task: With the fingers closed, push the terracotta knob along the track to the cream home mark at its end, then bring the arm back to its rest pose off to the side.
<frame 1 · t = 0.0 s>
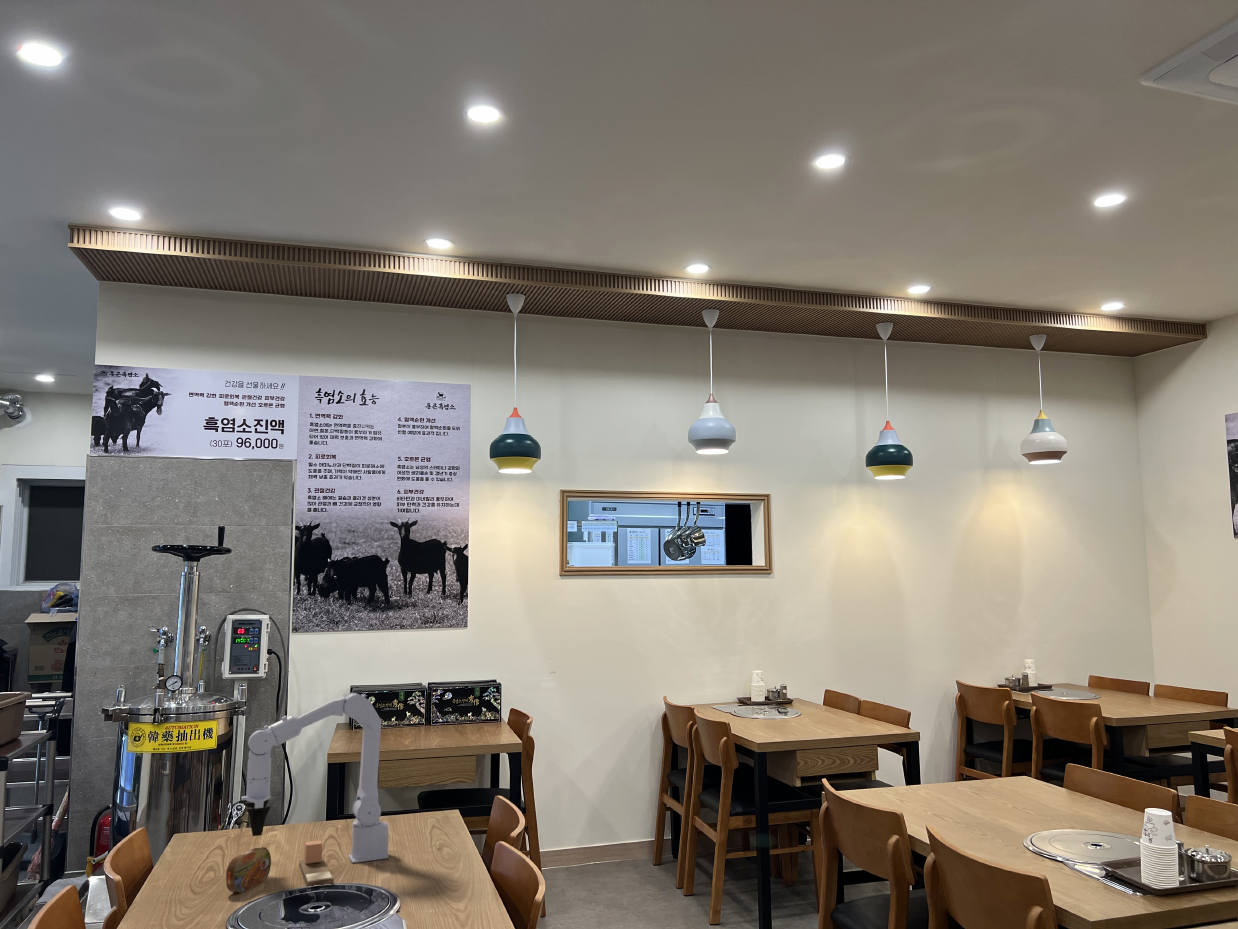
hand: (256, 832, 224), 10 cm above the table, tool pointing down, fingers open, 7 cm apart
slider: (313, 851, 226), point 4 cm above the table, slide at -7.0 cm
tin: (247, 888, 210), on the table
track: (315, 875, 219), on the table
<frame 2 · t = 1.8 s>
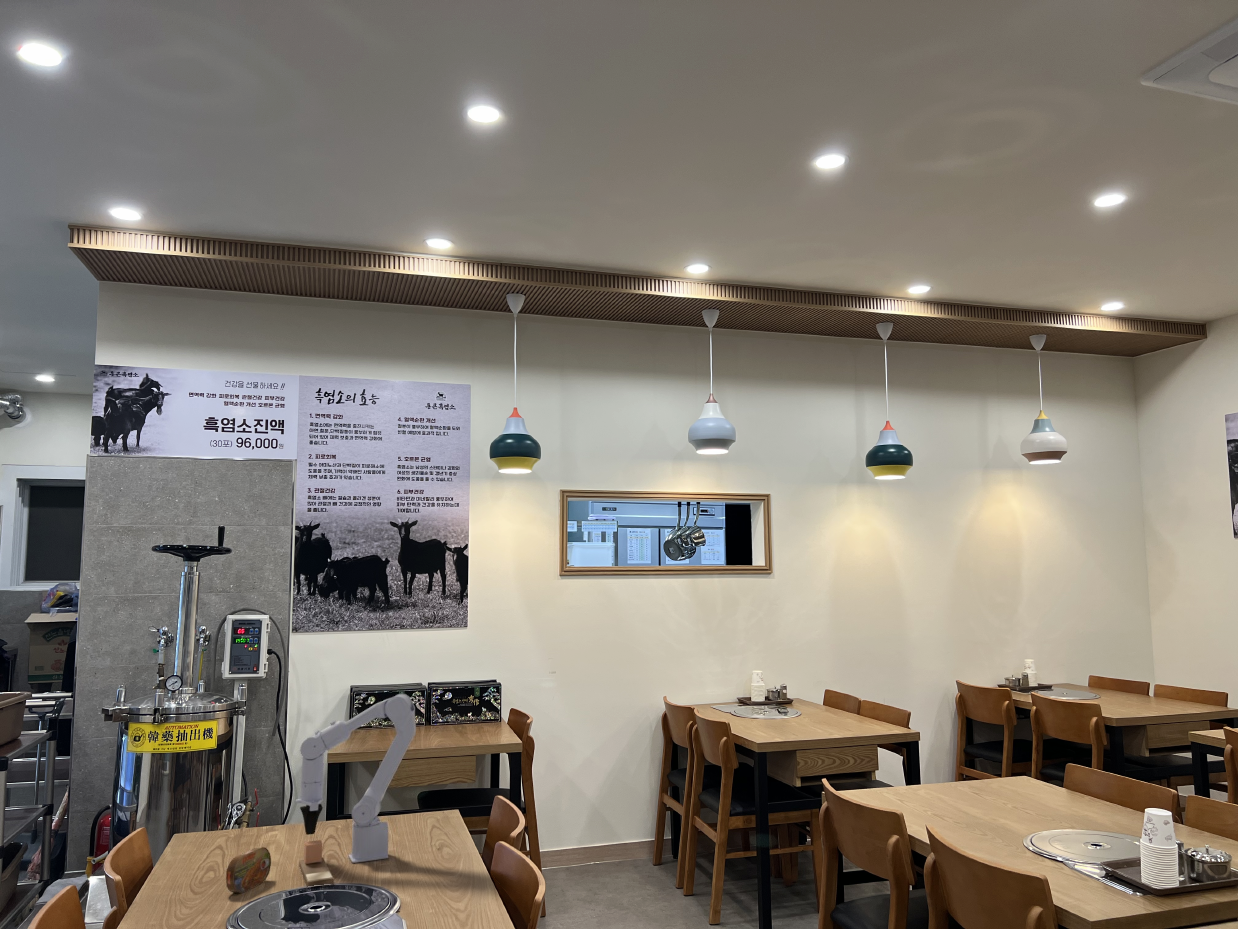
hand: (310, 834, 234), 7 cm above the table, tool pointing down, fingers closed
nothing on the table moved.
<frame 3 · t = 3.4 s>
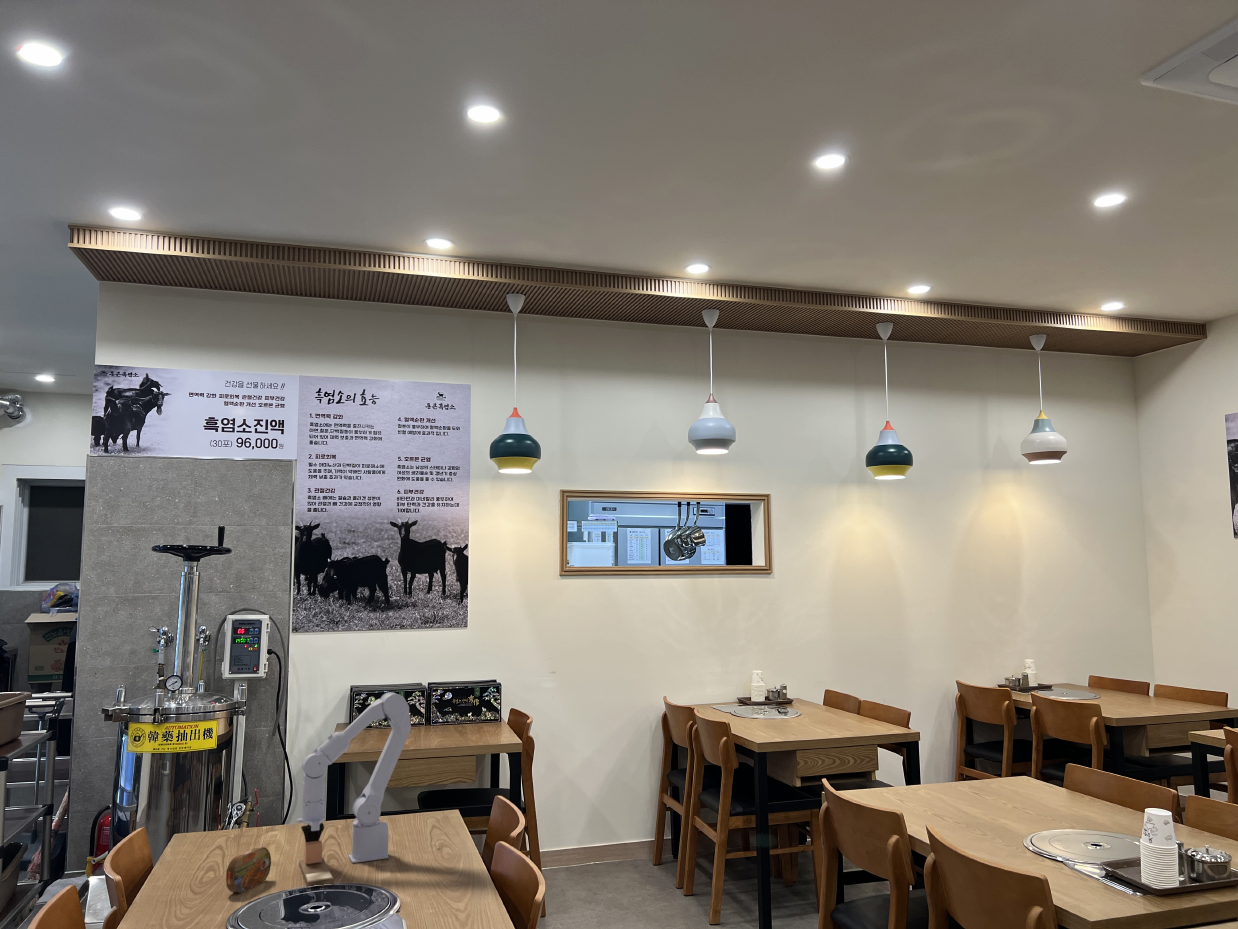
hand: (311, 854, 229), 3 cm above the table, tool pointing down, fingers closed
slider: (313, 852, 226), point 4 cm above the table, slide at -6.6 cm, touching gripper
everything else where it was.
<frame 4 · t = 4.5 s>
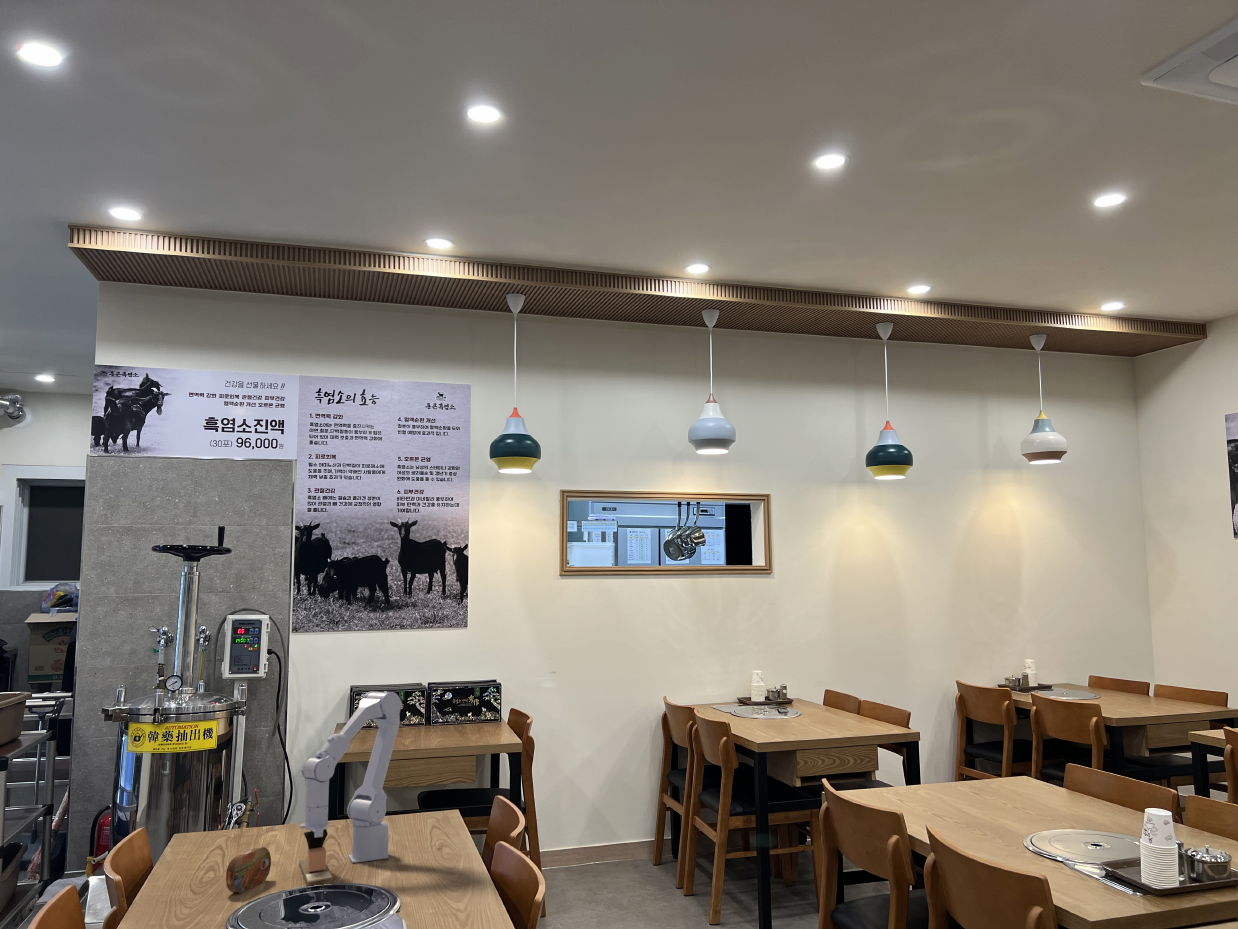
hand: (314, 861, 222), 3 cm above the table, tool pointing down, fingers closed
slider: (316, 859, 219), point 4 cm above the table, slide at 1.4 cm, touching gripper
everything else where it was.
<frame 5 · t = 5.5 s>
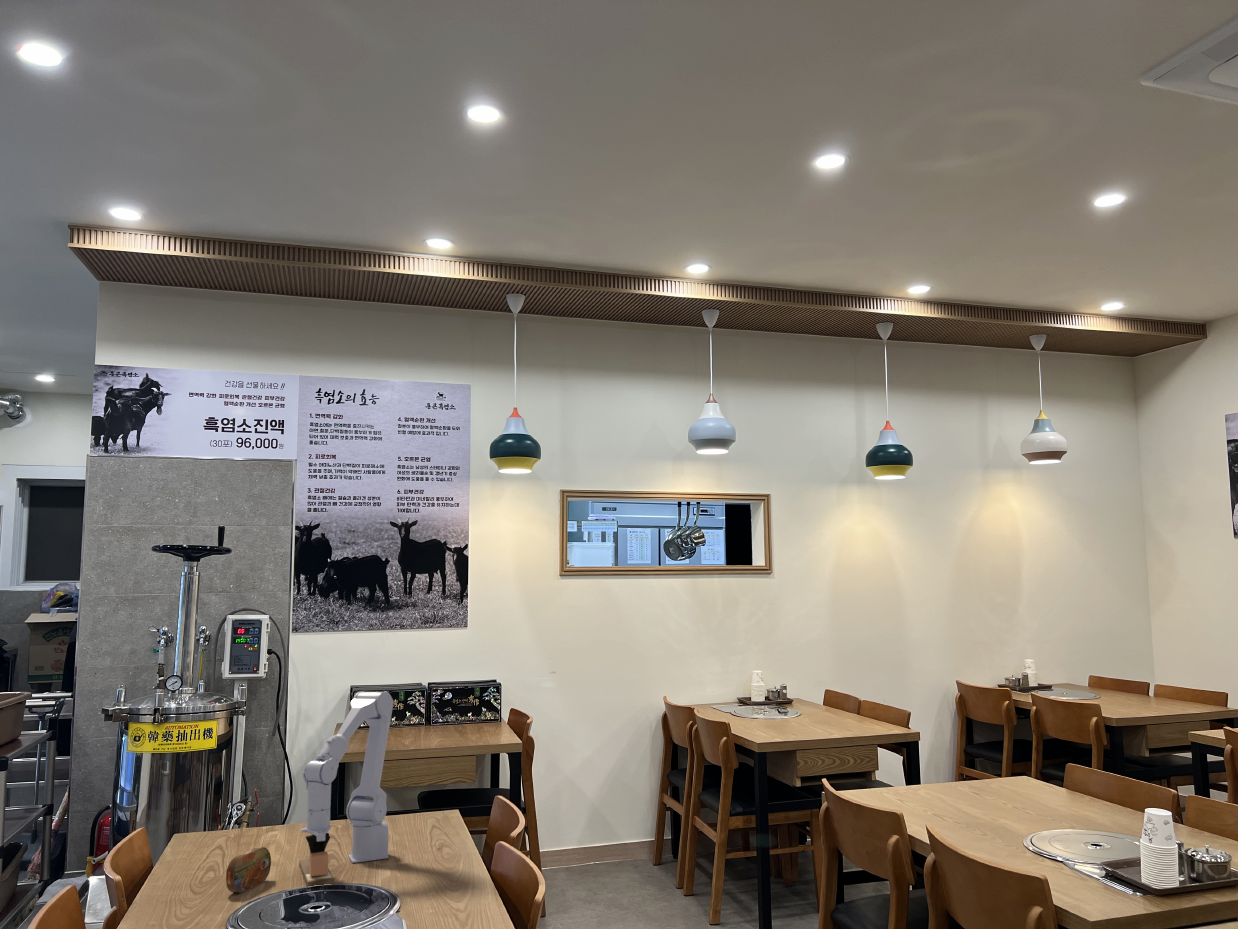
hand: (316, 865, 217), 3 cm above the table, tool pointing down, fingers closed
slider: (318, 863, 214), point 4 cm above the table, slide at 6.0 cm, touching gripper
everything else where it was.
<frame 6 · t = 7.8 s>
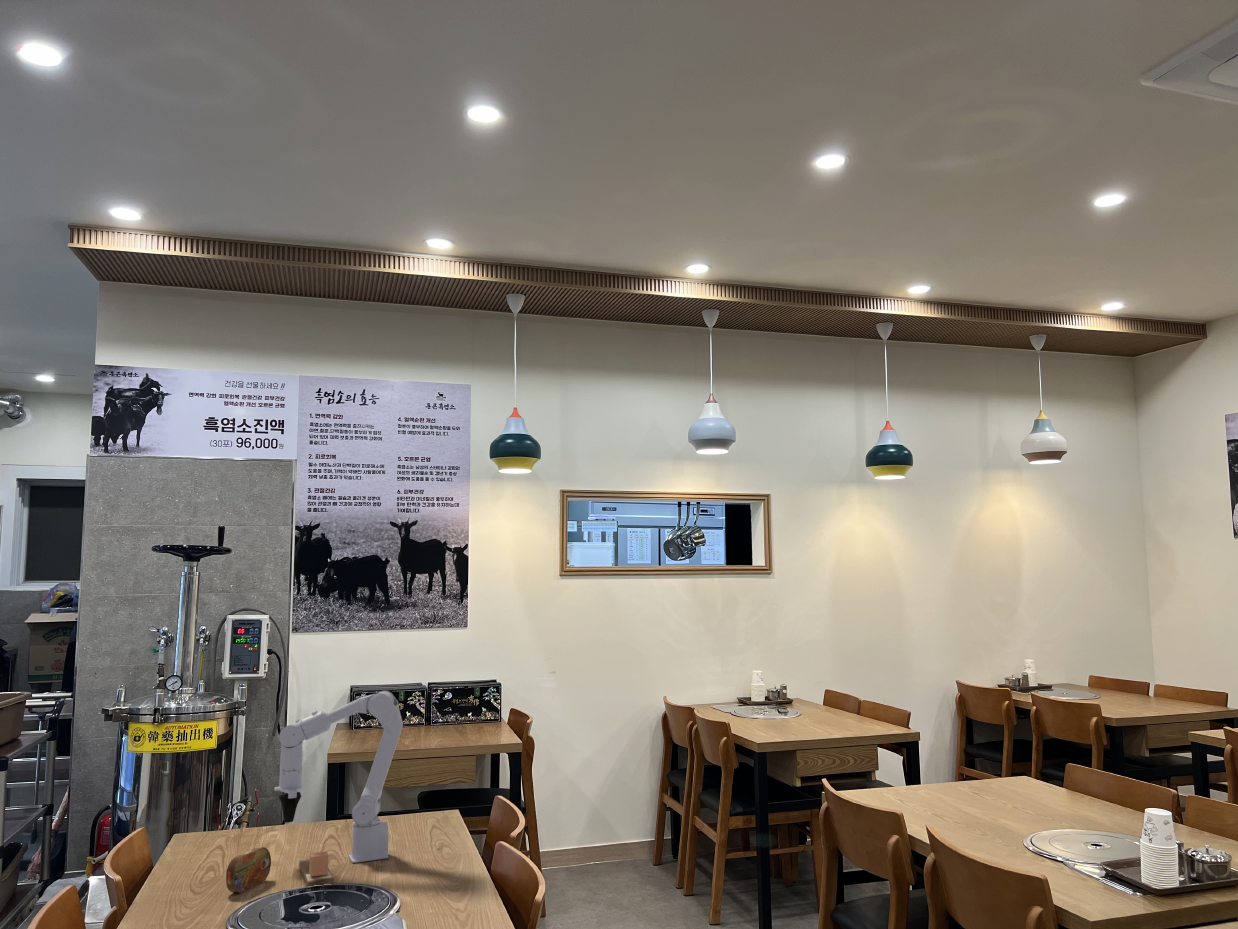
hand: (288, 821, 233), 10 cm above the table, tool pointing down, fingers closed
slider: (318, 864, 214), point 4 cm above the table, slide at 6.1 cm
everything else where it was.
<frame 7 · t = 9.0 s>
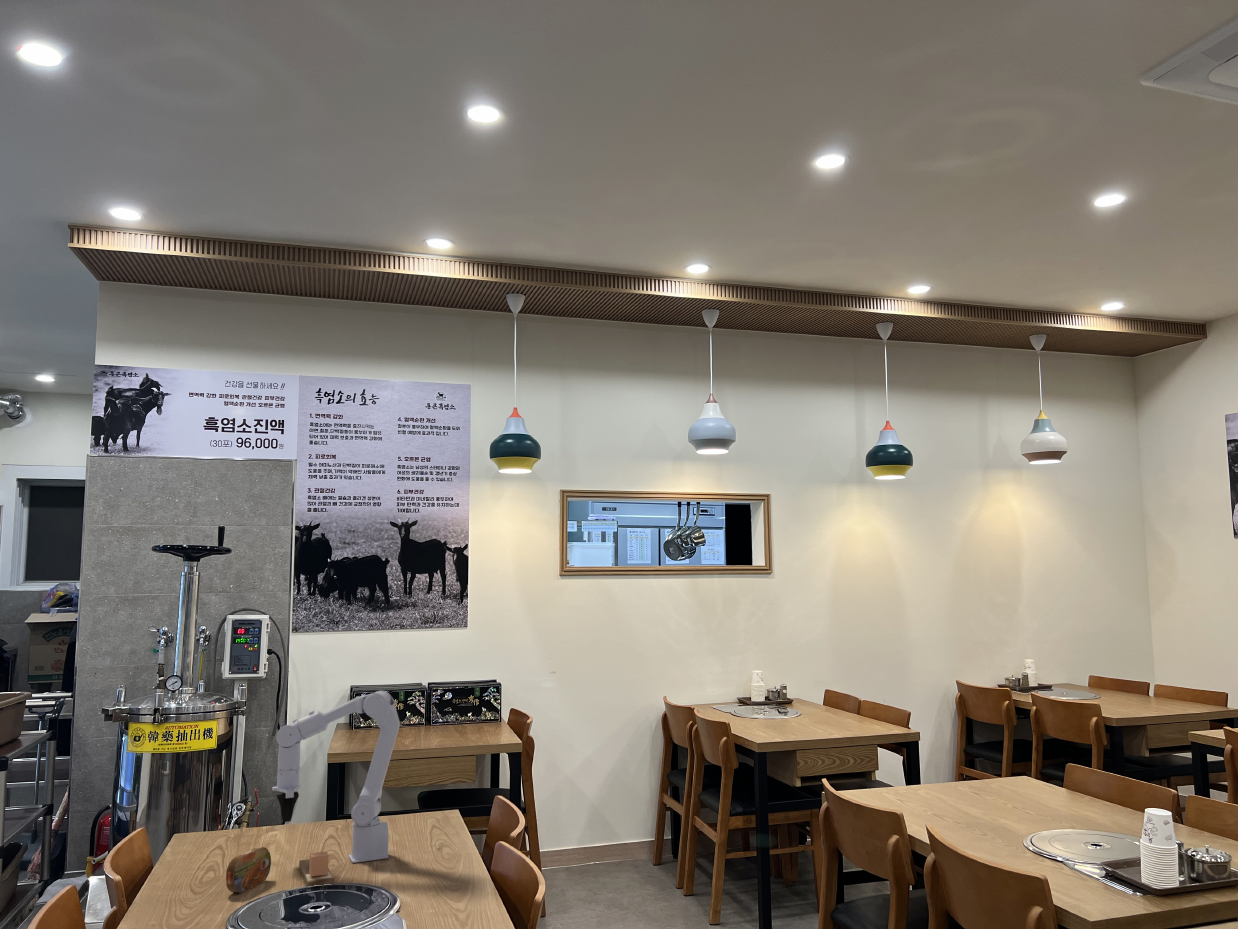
hand: (286, 821, 234), 10 cm above the table, tool pointing down, fingers closed
nothing on the table moved.
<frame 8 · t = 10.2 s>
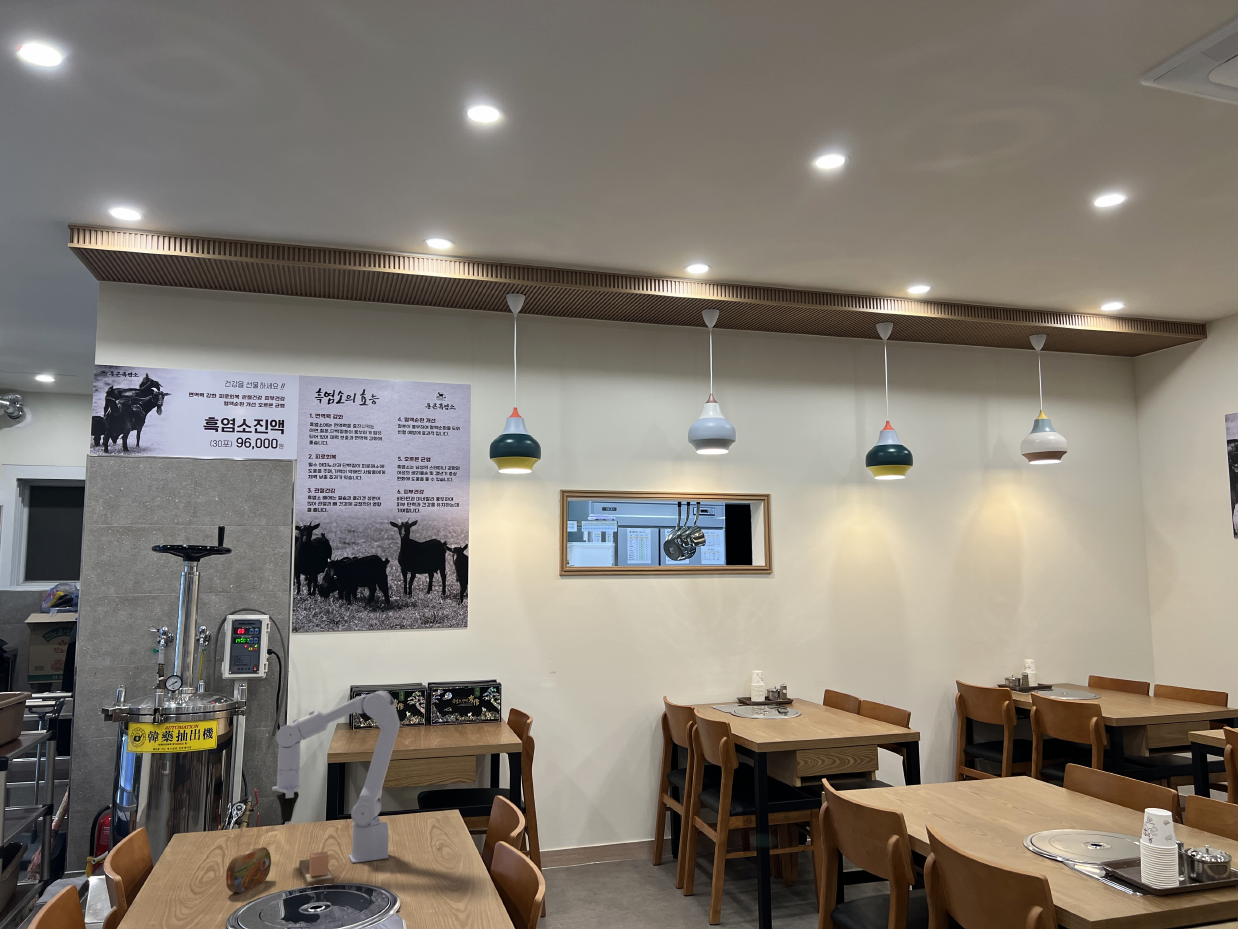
hand: (286, 821, 234), 10 cm above the table, tool pointing down, fingers closed
nothing on the table moved.
at the end: slider slide at 6.1 cm; tin moved 0.3 cm from its start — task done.
